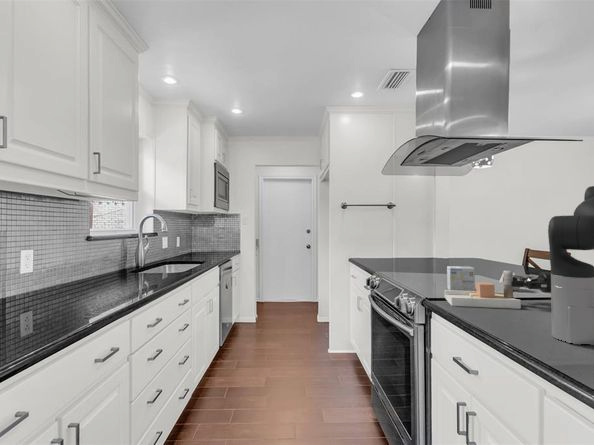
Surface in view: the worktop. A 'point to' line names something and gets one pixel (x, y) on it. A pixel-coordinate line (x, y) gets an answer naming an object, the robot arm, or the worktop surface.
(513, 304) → the tray
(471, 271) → the light bulb box
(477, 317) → the worktop surface
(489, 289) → the block
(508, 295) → the plate with upright post
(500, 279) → the die
